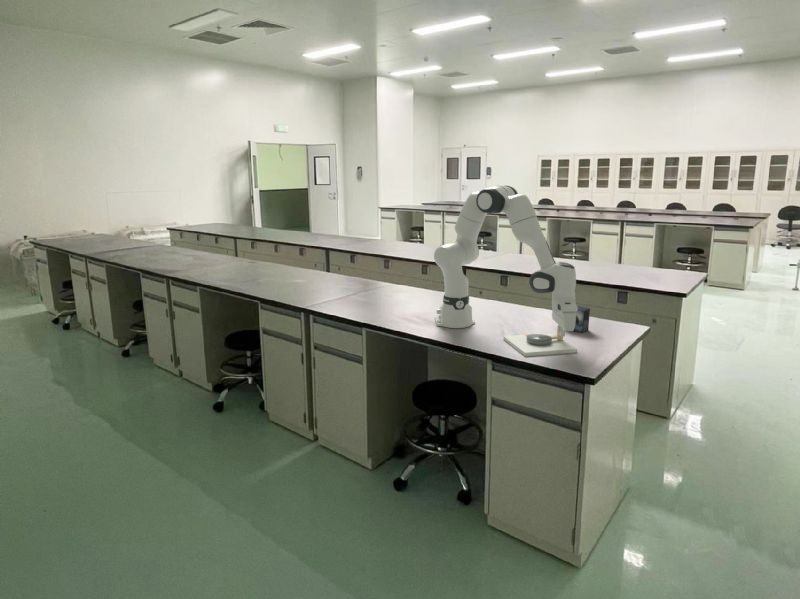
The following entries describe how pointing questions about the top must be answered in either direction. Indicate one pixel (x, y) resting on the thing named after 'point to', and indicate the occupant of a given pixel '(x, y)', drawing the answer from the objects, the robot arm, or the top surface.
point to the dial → (543, 338)
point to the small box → (582, 319)
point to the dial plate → (539, 346)
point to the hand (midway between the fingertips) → (561, 335)
